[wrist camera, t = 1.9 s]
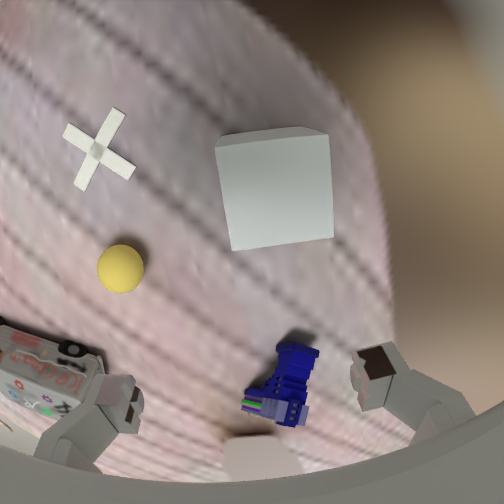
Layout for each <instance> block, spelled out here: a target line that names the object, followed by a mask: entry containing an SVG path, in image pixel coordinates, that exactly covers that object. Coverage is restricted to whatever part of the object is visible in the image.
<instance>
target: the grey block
mask: <svg viewBox="0 0 504 504" xmlns="http://www.w3.org/2000/svg"><path fill="white" fill-rule="evenodd" d="M214 149H215V155H216V161H217V167H218V173H219V179H220V185H221V190H222V196H223V202H224V208H225V213H226V219H227V225H228V230H229V236H230V242H231V247H232V251H239V250H246V249H253V248H260V247H267V246H274V245H281V244H288V243H296V242H303V241H310V240H317V239H324V238H332V237H334V220H333V193H332V174H331V158H330V144H329V134H326V133H322V132H319V131H316V130H313V129H309V128H306V127H303V126H297V127H286V128H277V129H268V130H259V131H251V132H244V133H237V134H230V135H224V136H221V137H220V139H219V141H218V142H217V144H216V146H215V147H214Z"/></svg>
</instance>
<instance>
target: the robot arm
mask: <svg viewBox="0 0 504 504" xmlns="http://www.w3.org/2000/svg"><path fill="white" fill-rule="evenodd" d="M352 360H353V362H354V363H353V364H352V366H351V369H350V377H351V383H352V386H353V389H354V390H355V391H357V392H359V393H358V398H357V399H358V401H359V404H360V406H361V409H362V412H364V411H368V410H372V409H376V408H380V407H384V408H385V409H386V410H388V411H389V412H390V413H392V414H393V415H394V416H396V417H397V418H398V419H400V420H401V421H402V422H404V423H405V424H406V425H408V426H409V427H410V428H412V429H413V430H415V431H416V433H415V435H414V437H413V439H412V440H411V442H410V444H409V446H408V447H405V448H403V449H400V450H397V451H394V452H391V453H388V454H385V455H382V456H379V457H375V458H372V459H368V460H365V461H361V462H358V463H354V464H350V465H346V466H342V467H337V468H333V469H328V470H323V471H318V472H313V473H308V474H302V475H297V476H289V477H282V478H274V479H265V480H255V481H240V482H217V483H189V482H166V481H153V480H142V479H134V478H126V477H119V476H112V475H106V474H102V472H101V470H100V469H99V468H98V467H97V466H95V465H94V464H93V463H94V462H95V461H96V459H97V458H98V457H99V456H100V455H101V454H102V453H103V451H104V450H105V449H106V448H107V447H108V446H109V445H110V443H111V442H112V441H113V440H114V439H115V438H116V437H117V435H118V434H119V433H129V434H138V430H139V426H140V422H141V420H140V418H139V417H138V416H139V415H140V414H141V413H142V412H143V409H144V397H143V394H142V392H141V390H140V389H139V388H138V387H136V386H135V383H136V381H135V379H134V377H133V376H132V375H115V374H97V375H96V376H95V377H94V379H93V381H92V384H91V386H90V388H89V391H88V393H87V395H86V398H85V400H84V403H83V404H79V405H78V406H76V407H75V408H74V409H73V410H71V411H70V412H69V413H68V414H66V415H65V416H64V417H63V418H61V419H60V420H59V421H57V422H56V423H55V424H54V425H52V426H51V427H50V428H49V429H47V430H46V431H45V432H44V433H42V436H41V438H40V441H39V443H38V446H37V448H36V451H35V453H34V456H30V455H27V454H23V453H21V452H18V451H16V450H13V449H10V448H8V447H5V446H3V445H0V504H504V401H502V402H501V403H499V404H497V405H496V406H494V407H492V408H491V409H489V410H487V411H485V412H483V413H481V414H480V415H478V416H476V415H475V413H474V411H473V410H472V408H471V407H470V405H469V403H468V402H467V400H466V399H465V397H464V396H463V394H462V393H461V392H459V391H457V390H455V389H453V388H451V387H449V386H447V385H445V384H443V383H441V382H439V381H437V380H434V379H433V378H431V377H429V376H426V375H425V374H423V373H421V372H418V371H416V370H414V369H412V370H410V369H409V367H408V365H407V364H406V362H405V361H404V359H403V357H402V356H401V354H400V352H399V351H398V349H397V348H396V346H395V344H394V343H393V342H392V341H390V342H386V343H382V344H379V345H374V346H370V347H366V348H362V349H357V350H354V351H353V353H352Z"/></svg>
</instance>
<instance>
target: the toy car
mask: <svg viewBox="0 0 504 504" xmlns="http://www.w3.org/2000/svg"><path fill="white" fill-rule="evenodd" d="M97 374H105V370H104V366H103V361H102V357H101V356H99V355H98V356H97V357H96V356H94V355H91V354H89V353H88V354H87V349H86V347H85V346H83V345H81V344H77V343H74V342H73V341H69V340H65V341H64V342H63V344H62V346H61V348H60V345H59V344H57V343H54V342H51V341H48V340H45V339H42V338H40V337H37V336H33V335H31V334H28V333H25V332H22V331H19V330H16V329H13V328H11V327H8V326H5V325H4V319H3V317H1V316H0V391H1V393H2V394H3V395H4V396H5V397H6V398H7V399H9V400H11V401H13V402H15V403H17V404H19V405H21V406H23V407H25V408H28V409H30V410H32V411H34V412H37V413H39V414H42V415H44V416H47V417H49V418H52V419H55V420H58V421H59V420H60V419H61V418H63V417H64V416H65V415H66V414H68V413H69V412H70V411H71V410H73V409H74V408H75V407H76V406H78V405H79V404H83V403H84V400H85V398H86V395H87V393H88V391H89V388H90V386H91V384H92V381H93V379H94V377H95V376H96V375H97Z"/></svg>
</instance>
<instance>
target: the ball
mask: <svg viewBox="0 0 504 504" xmlns="http://www.w3.org/2000/svg"><path fill="white" fill-rule="evenodd" d="M97 273H98V277H99V279H100V281H101V283H102V284H103V286H104V287H106V288H107V289H108V290H110V291H112V292H115V293H127V292H130V291H132V290H133V289H135V288H136V287H137V286H138V285H139V283H140V282H141V280H142V277H143V273H144V266H143V261H142V259H141V257H140V255H139V254H138V252H137V251H136V250H134V249H133V248H131V247H129V246H127V245H114V246H111V247H109V248H107V249H106V250H105V251H104V252H103V253H102V254H101V256H100V258H99V260H98V264H97Z"/></svg>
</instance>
